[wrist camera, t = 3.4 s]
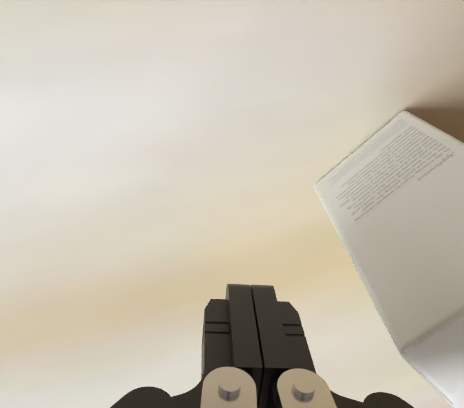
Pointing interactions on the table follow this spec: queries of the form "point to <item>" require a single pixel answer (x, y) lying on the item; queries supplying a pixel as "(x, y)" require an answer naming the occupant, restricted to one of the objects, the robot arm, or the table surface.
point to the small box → (408, 241)
